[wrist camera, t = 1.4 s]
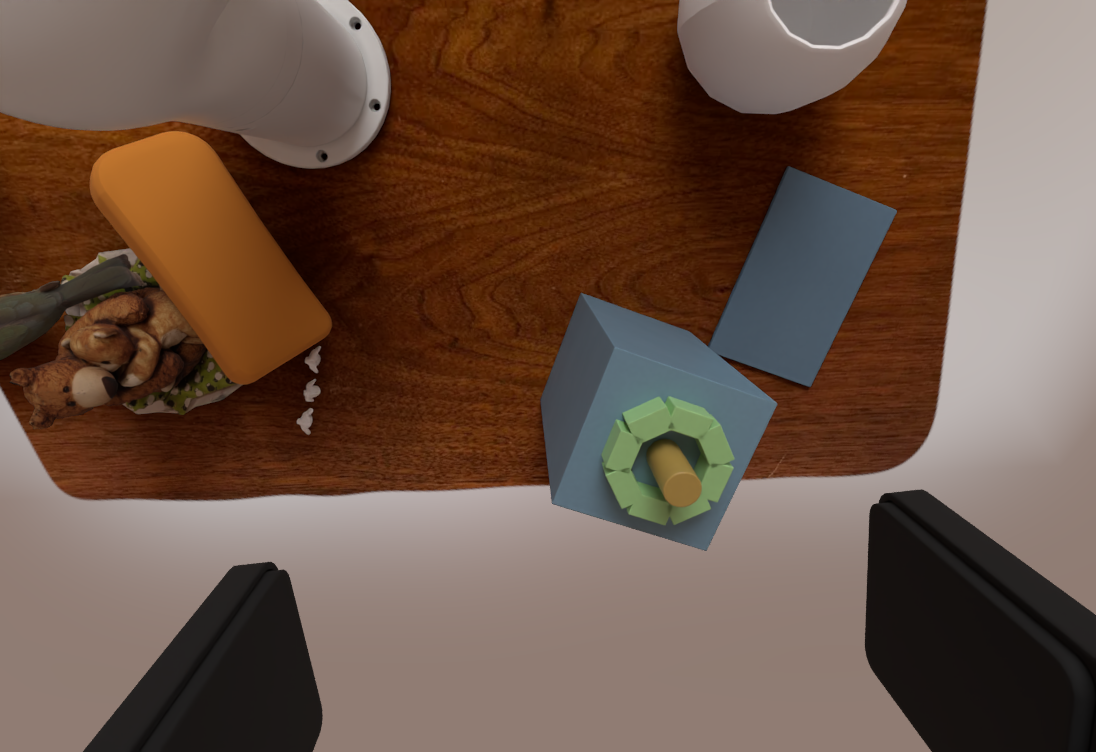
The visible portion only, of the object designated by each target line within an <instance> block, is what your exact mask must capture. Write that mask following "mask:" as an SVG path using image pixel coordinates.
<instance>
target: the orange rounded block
mask: <svg viewBox="0 0 1096 752" xmlns="http://www.w3.org/2000/svg"><path fill="white" fill-rule="evenodd" d="M90 191H91V197H92V199H93V200H94V202H95V204H96V206H97V207H98V209H99V210H100V211H101V212H102V214H103V215H104V216H105V217H106V219H107V220H108V221H109V222H110V224H111V225H112V226H113V227H114V229H115V230H116V231H117V232H118V234H119V235H120V236H121V237H122V238H123V240H124V241H125V242H126V243H127V245H128V246H129V247H130V248H131V250H132V251H133V252H134V253H135V255H136V256H137V257H138V258H139V260H140V261H141V262H142V263H143V265H144V266H145V267H146V268H147V270H148V271H149V272H150V273H151V275H152V276H153V277H154V279H155V280H156V281H157V282H158V284H159V285H160V286H161V288H162V289H163V290H164V292H165V293H166V294H167V296H168V297H169V298H170V300H171V301H172V302H173V303H174V305H175V306H176V307H177V309H178V310H179V311H180V313H181V314H182V315H183V317H184V318H185V319H186V320H187V322H188V323H189V324H190V326H191V327H192V328H193V330H194V331H195V332H196V334H197V335H198V337H199V338H200V339H201V341H202V342H203V344H204V345H205V347H206V348H207V349H208V351H209V352H210V354H211V355H212V356H213V358H214V359H215V361H216V362H217V364H218V365H219V366H220V368H221V369H222V371H223V372H224V373H225V375H226V376H227V377H228V378H229V379H230V380H231V381H232V382H235V383H237V384H250V383H252V382H255V381H256V380H258V379H260V378H261V377H263V376H265V375H266V374H268V373H269V372H271V371H273V370H274V369H276V368H277V367H279V366H281V365H282V364H284V363H285V362H287V361H289V360H290V359H292V358H293V357H295V356H297V355H298V354H300V353H301V352H303V351H305V350H306V349H308V348H310V347H311V346H313V345H314V344H316V343H318V342H319V341H321V340H322V339H324V338H325V337H326V336H327V335H328V334H329V333H330V330H331V328H332V320H331V318H330V315H329V314H328V312H327V311H326V310H325V308H324V307H323V306H322V304H321V303H320V302H319V300H318V299H317V298H316V296H315V295H314V294H313V292H312V291H311V290H310V288H309V287H308V286H307V284H306V283H305V282H304V280H303V279H302V278H301V276H300V275H299V274H298V272H297V271H296V269H295V268H294V267H293V265H292V264H291V262H290V261H289V259H288V258H287V257H286V255H285V254H284V252H283V251H282V250H281V248H280V247H279V245H278V244H277V242H276V241H275V240H274V238H273V237H272V235H271V234H270V232H269V231H268V230H267V228H266V227H265V225H264V224H263V222H262V221H261V220H260V218H259V217H258V215H257V214H256V212H255V211H254V209H253V208H252V206H251V205H250V203H249V202H248V200H247V199H246V197H245V196H244V194H243V193H242V191H241V190H240V188H239V187H238V185H237V184H236V182H235V181H234V179H233V177H232V176H231V174H230V173H229V171H228V170H227V168H226V167H225V165H224V164H223V162H222V161H221V159H220V158H219V156H218V155H217V153H216V152H215V151H214V150H213V149H212V148H211V146H210V145H209V144H208V143H206V142H205V141H203V140H202V139H200V138H199V137H197V136H195V135H192V134H189V133H187V132H180V131H170V132H164V133H160V134H157V135H154V136H151V137H148V138H145V139H142V140H139V141H136V142H133V143H130V144H127V145H124V146H121V147H118V148H115V149H112V150H110V151H108V152H106V153H104V154H102V156H101V157H100V158H99V159H98V160H97V161H96V163H95V164H94V165H93V169H92V172H91V177H90Z"/></svg>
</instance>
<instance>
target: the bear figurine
mask: <svg viewBox="0 0 1096 752" xmlns="http://www.w3.org/2000/svg"><path fill="white" fill-rule="evenodd" d="M122 254H126V255H127V256H128V260H129V261H130V264H131V267H130V268H131V269H130V271H131V272H134V273H137V274H138V275H139V276H140V277H141V280H142V281H143V283H145V285H142V286H133V287H129V288H123V289H119V290H114V291H112V292H109V293H106V294H104V295H101V296H99V297H96V298H92V299H89V300H87V301H84V302H82V303H79V304H76V305H74V306H72V307H69V308H67V309H66V310H65V311H66V313H67V314H68V315H65V316H64V321H65V324H66V326H65V330H66V332H65V335H64V336H63V337H62V339H61V340H60V342H59V350H58V356H57V357H56V360H55V361H51V362H48V363H45V364H42V365H39V366H37V367H34V368H18V369H15V370H14V371H12V372H11V373H10V377H11V382H10V383H12V384H16V385H19V386H23V391H24V394H25V398H26V399H27V400H28V402H30V404H32V405H33V406H34V407H35V408H34V411H33V415H32V416H31V418H30V421H29V424H30V425H31V426H32V427H33V429H45V428H48V427H50V426H51V425H52V424H53V422H54V420H55V419H59V418H62V419H63V418H65V417H70V416H75V415H82V414H84V413H86V412H87V411H90V410H92V409H93V407H95V406H100V405H103V404H105V405H107V406H111V405H120V404H123V405H124V406H125V407H127V408H128V409H130V410H131V411H133V412H134V413H136V414H147V413H155V412H165V413H178V414H180V415H184V414H185V413H187V412H188V411H190V410H191V409H193V408H194V407H196V406H200V405H204V404H208V403H212V402H216V401H220V400H223V399H224V398H226V397H227V396H228V395H230V394H231V393H232V392H234V391H235V390H236V389H238V388H239V387H240V386H242V385H243V384H237V383H235V382H232V381H231V380H230V379H229V378H228V377H227V376H226V375H225V373H224V372H223V371H222V369H221V368H220V366H219V365H218V364H217V362H216V361H215V359H214V358H213V356H212V355H211V354H210V352H209V351H208V349H207V348H206V347H205V345H204V344H203V342H202V341H201V339H200V338H199V337H198V335H197V334H196V332H195V331H194V330H193V328H192V327H191V326H190V324H189V323H188V322H187V320H186V319H185V318H184V317H183V315H182V314H181V313H180V311H179V310H178V309H177V307H176V306H175V305H174V303H173V302H172V301H171V300H170V298H169V297H168V296H167V294H166V293H165V292H164V290H163V289H162V288H161V286H160V285H159V284H158V282H157V281H156V280H155V279H154V277H153V276H152V275H151V273H150V272H149V271H148V270H147V268H146V267H145V266H144V265H143V263H142V262H141V261H140V260H139V258H138V257H137V256H136V255H135V253H134V252H133V251H132V250H131V248H130V249H123V250H116V251H109V252H102V253H99V254H98V256H97V258H96V259H95V260H94V261H92V262H91V263H89V264H88V265H87V266H85V267H84V268H82V269H81V270H74V271H71V272H70V275H65V276H63V277H62V281H61V284H64V283H66V282H68V281H70V280H72V279H74V278H75V277H77V276H79V275H81V274H83V273H84V272H86V271H87V270H89V269H90V268H92V267H93V266H96V265H98V264H100V263H102V262H104V261H106V260H108V259H111V258H114V257H117V256H120V255H122Z"/></svg>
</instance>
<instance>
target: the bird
mask: <svg viewBox="0 0 1096 752" xmlns="http://www.w3.org/2000/svg"><path fill="white" fill-rule="evenodd" d="M130 267H131V264H130V261H129V260H128V256H127V255H126V254H122V255H120V256H117V257H114V258H111V259H108V260H106V261H104V262H102V263H100V264H98V265H96V266H93V267H92V268H90V269H89V270H87V271H86V272H84V273H83V274H81V275H79V276H77V277H75V278H74V279H72V280H70V281H68V282H66V283H64V284H59V283H60V281H53V282H50V283H48V284H46V285H44V286H41V287H40V288H39V289H37V290H33V291H30V292H26V293H24V292H16V293H10V294H4V295H0V360H2V359H4V358H6V357H8V356H9V355H11V354H13V353H14V352H16V351H18V350H19V349H21V348H23V347H24V346H26V345H28V344H29V343H31V342H32V341H34V340H36V339H37V338H38V337H40V336H41V335H43V334H46V332H47V331H48V330H49V329H50V328H51V327H52V326H53V325H54V324H55V323H56V322H57V321H58V320H59V319H60V317H61V315H62V314H63V312H64V311H65V310H66V309H67V308H69V307H72V306H74V305H76V304H79V303H82V302H84V301H87V300H89V299H92V298H96V297H99V296H101V295H104V294H106V293H109V292H112V291H114V290H119V289H123V288H129V287H133V286H142V285H145V283H143V281H142V280H141V277H140V276H139V275H138V274H137V273H134V272H131V271H130V269H131V268H130Z"/></svg>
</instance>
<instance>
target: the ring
mask: <svg viewBox="0 0 1096 752" xmlns="http://www.w3.org/2000/svg"><path fill="white" fill-rule="evenodd" d="M622 415H623V417H624V419H625V421H626V422H623V421H620V420H617V419H616V420H615V423H614V425H613V427H612V430H611V432H610V435H609V437H608V440H607V442H606V444H605V447H604V449H603V452H602V454H601V455H602V458H603V461H604V462H602V466H603V469H604V472H605V476H606V478H607V480H608V482H609V484H610V486H611V488H612V490H613V492H614V494H615V496H616V499H617V501H618V503H619V505H620V507H621V508H622V509H623V508H626V509H627V512H628V514H629V515H632V516H635V517H639V518H642V519H645V520H648V521H652V522H655V523H658V524H661V525H666V523H667V521H668V519H669V516H670V519H671V521H672V523H673V525H676V524H678V523H680V522H683V521H685V520H687V519H690V518H692V517H694V516H697V515H699V514H701V513H703V512H706V511H708V510H710V509H711V507H710V505H709V502H708V500H710V501H713V502H718V501H719V498H720V496H721V494H722V492H723V490H724V488H725V486H726V484H727V482H728V480H729V477H730V475H731V473H732V471H733V469H734V467H733V466H732V465H731V463H730V461H733V460H734V456H733V454H732V451H731V449H730V446H729V444H728V442H727V439H726V437H725V434H724V432H723V430H722V427H721V425H720V424H719V423H718V421H717V420H716V419H715V418H714V417H713V416H712V415H711V414H709V413H708V412H707V411H706V410H705V408H703V407H700V406H697V405H694V404H691V403H688V402H685V401H682V400H679V399H676V398H673V397H670V396H668V397H667V400H666V402H665V404H664V402H663V401H662V399H661V398H660V397H656V398H654V399H652V400H650V401H648V402H645V403H643V404H641V405H639V406H636V407H634V408H632V409H630V410H628V411H625V412H623V413H622ZM668 431H674V432H677V433H680V434H683V435H686V436H689V437H692V438H695V441H696V443H697V445H698V448H699V450H700V452H701V454H700V456H699V458H698V460H697V463H696V465H695V467H694V469H693V470H694V472H695V473H696V475H697V476H698V478H699V479H700V481H701V485H702V491H701V494H700V497H699V498H698V500H697V501H696V502H694V503H693V504H692V505H690V506H687V507H676V506H673V505H671V504H669V503H668V502H667V501H666V500H665V498H664V496H663V494H662V492H661V490H660V488H657V487H654V486H651V485H648V484H645V483H641V482H638V481H637V480H636V478H635V476H634V474H633V472H632V469H631V468H632V466H633V464H634V461H635V459H636V457H637V454H638V452H639V450H640V447H641V445H642V443H644V442H646V441H648V440H651V439H653V438H655V437H657V436H660V435H662V434H664V433H666V432H668Z"/></svg>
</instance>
